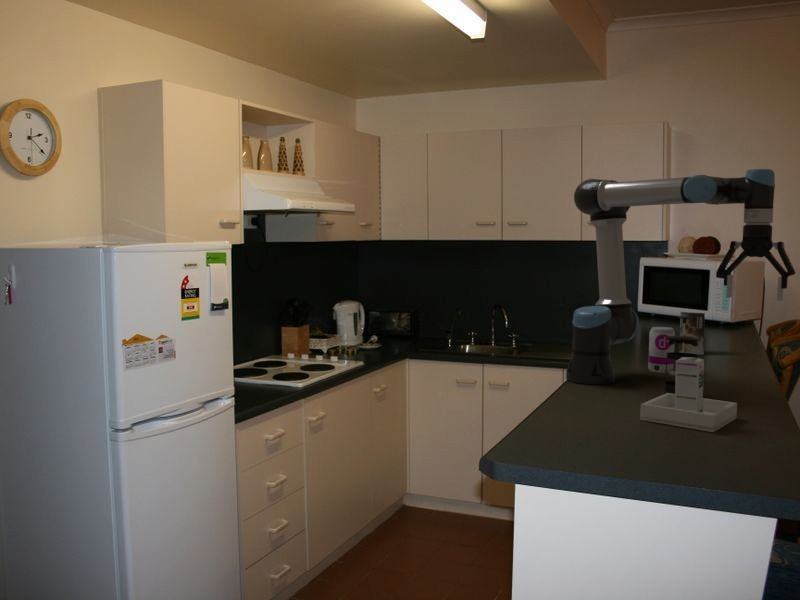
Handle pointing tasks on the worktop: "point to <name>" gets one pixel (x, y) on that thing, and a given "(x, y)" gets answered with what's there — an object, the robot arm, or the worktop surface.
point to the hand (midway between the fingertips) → (754, 298)
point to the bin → (689, 413)
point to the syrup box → (689, 384)
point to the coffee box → (693, 332)
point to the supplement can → (660, 349)
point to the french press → (678, 354)
